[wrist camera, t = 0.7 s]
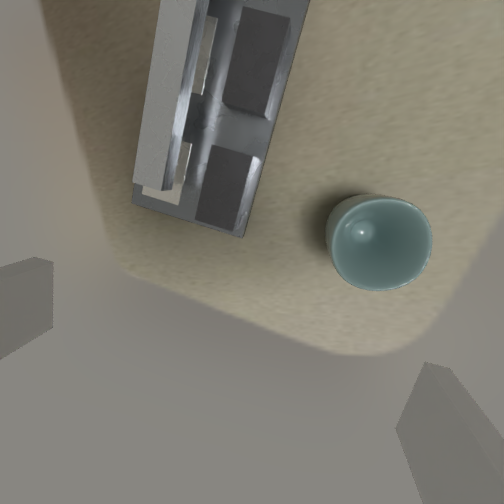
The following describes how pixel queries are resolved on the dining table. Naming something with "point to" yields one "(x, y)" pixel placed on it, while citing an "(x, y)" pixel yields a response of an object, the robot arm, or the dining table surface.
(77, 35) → the dining table surface
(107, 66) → the dining table surface
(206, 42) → the panel
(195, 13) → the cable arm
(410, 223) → the cup
